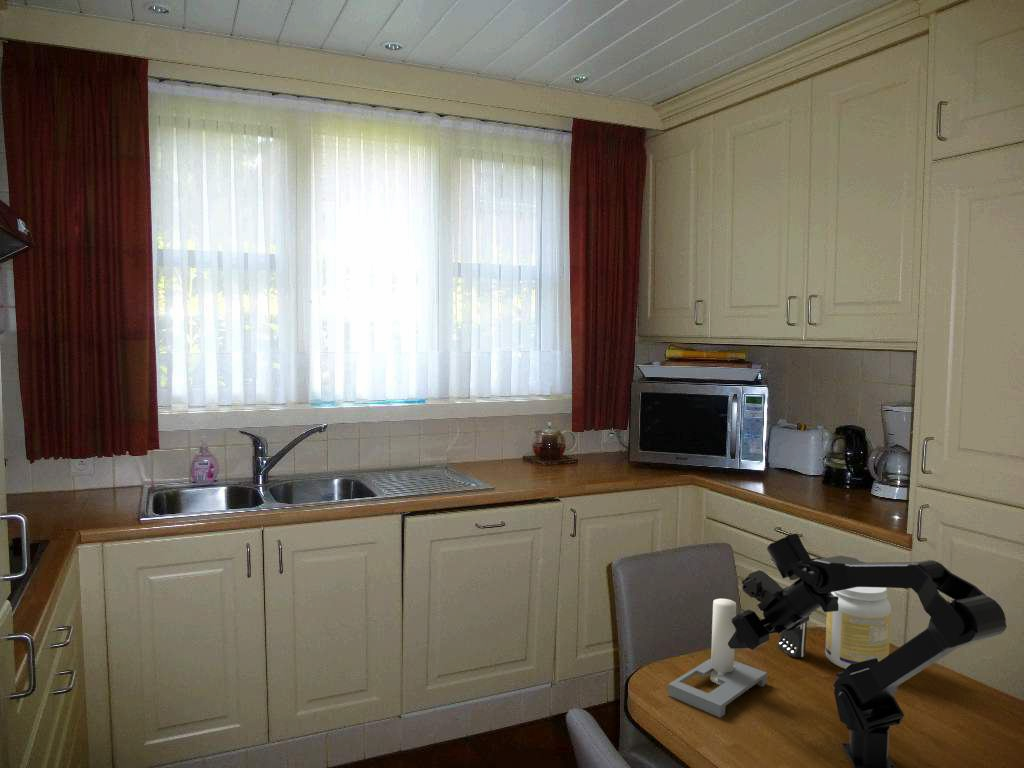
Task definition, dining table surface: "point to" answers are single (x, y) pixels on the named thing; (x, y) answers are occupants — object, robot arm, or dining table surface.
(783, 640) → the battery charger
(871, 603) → the supplement tub
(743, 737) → the dining table surface
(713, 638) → the footed peg
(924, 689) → the dining table surface
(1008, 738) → the dining table surface
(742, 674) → the keyhole plate
